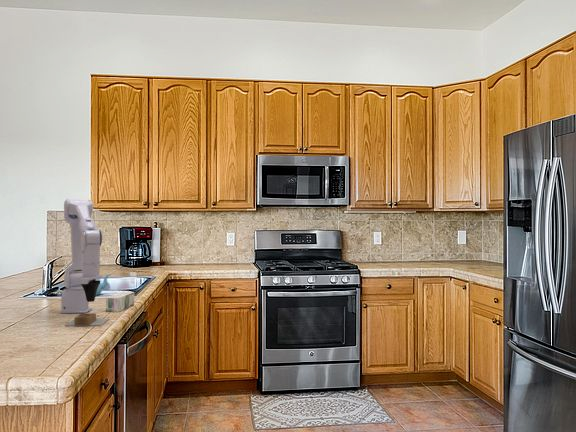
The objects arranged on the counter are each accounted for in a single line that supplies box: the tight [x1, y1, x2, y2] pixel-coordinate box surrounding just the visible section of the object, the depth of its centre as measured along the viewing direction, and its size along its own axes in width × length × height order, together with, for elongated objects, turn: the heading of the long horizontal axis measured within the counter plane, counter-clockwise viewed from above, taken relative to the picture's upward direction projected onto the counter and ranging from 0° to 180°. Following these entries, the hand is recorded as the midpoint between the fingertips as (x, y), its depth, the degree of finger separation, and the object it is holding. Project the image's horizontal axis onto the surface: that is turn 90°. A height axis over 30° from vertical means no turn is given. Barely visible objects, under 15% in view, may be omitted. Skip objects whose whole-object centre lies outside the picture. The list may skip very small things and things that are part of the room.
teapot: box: [95, 273, 111, 297], centre depth 226 cm, size 15×15×10 cm
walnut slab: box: [73, 312, 97, 325], centre depth 165 cm, size 5×2×7 cm
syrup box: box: [105, 291, 135, 313], centre depth 194 cm, size 6×6×14 cm
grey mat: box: [64, 318, 110, 327], centre depth 167 cm, size 12×10×1 cm
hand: (90, 301), depth 170 cm, fingers closed
